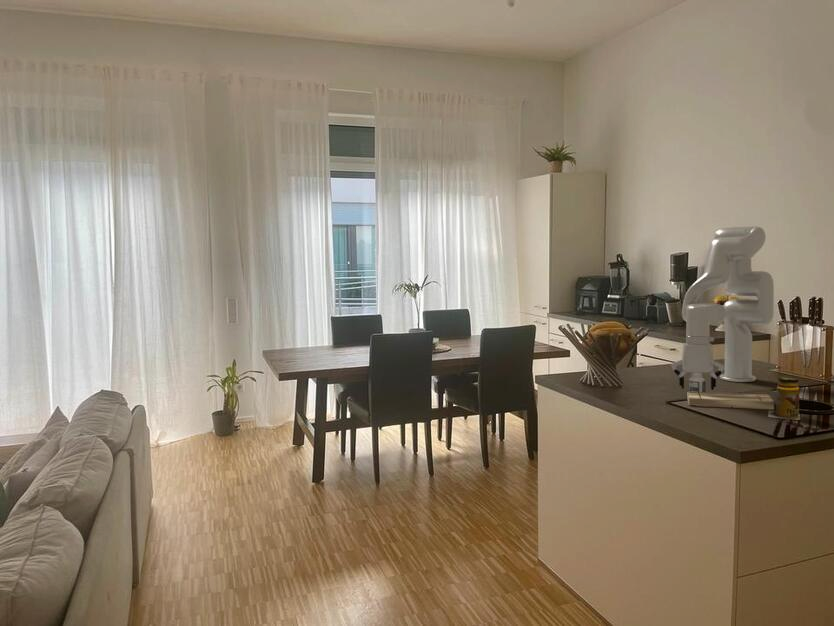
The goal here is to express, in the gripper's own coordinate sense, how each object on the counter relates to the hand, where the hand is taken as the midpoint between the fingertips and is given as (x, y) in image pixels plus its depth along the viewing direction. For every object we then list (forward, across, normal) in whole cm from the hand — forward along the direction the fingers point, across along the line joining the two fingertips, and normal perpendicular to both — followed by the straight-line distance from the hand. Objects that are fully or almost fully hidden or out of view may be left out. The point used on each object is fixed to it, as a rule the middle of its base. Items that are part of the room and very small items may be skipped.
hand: (697, 388), depth 222 cm
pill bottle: (+3, 0, 0) cm, 3 cm away
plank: (+3, -9, +10) cm, 13 cm away
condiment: (+3, -23, +22) cm, 32 cm away
